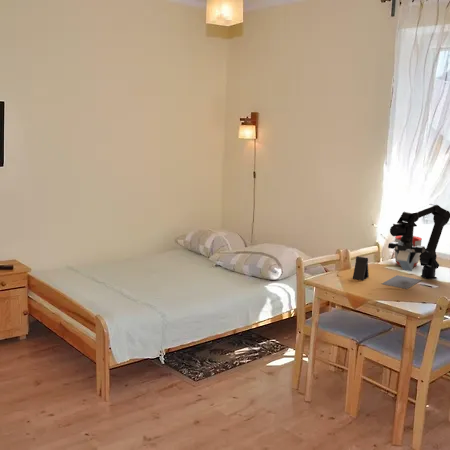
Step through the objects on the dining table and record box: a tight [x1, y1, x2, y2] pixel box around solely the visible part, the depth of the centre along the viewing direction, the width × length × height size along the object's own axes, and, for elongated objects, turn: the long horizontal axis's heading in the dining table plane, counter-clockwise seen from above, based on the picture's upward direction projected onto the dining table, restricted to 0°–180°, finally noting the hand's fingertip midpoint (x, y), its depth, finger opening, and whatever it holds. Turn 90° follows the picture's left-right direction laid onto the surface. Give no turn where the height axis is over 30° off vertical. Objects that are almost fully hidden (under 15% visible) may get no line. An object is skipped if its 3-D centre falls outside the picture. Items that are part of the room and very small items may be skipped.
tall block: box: [397, 251, 415, 272], centre depth 299 cm, size 5×5×14 cm
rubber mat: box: [381, 274, 422, 290], centre depth 299 cm, size 22×14×1 cm, turn 141°
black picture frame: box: [352, 256, 370, 281], centre depth 305 cm, size 9×6×12 cm, turn 145°
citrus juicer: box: [394, 235, 422, 268], centre depth 334 cm, size 16×17×20 cm
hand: (405, 262), depth 299 cm, fingers closed on tall block, 5 cm apart
